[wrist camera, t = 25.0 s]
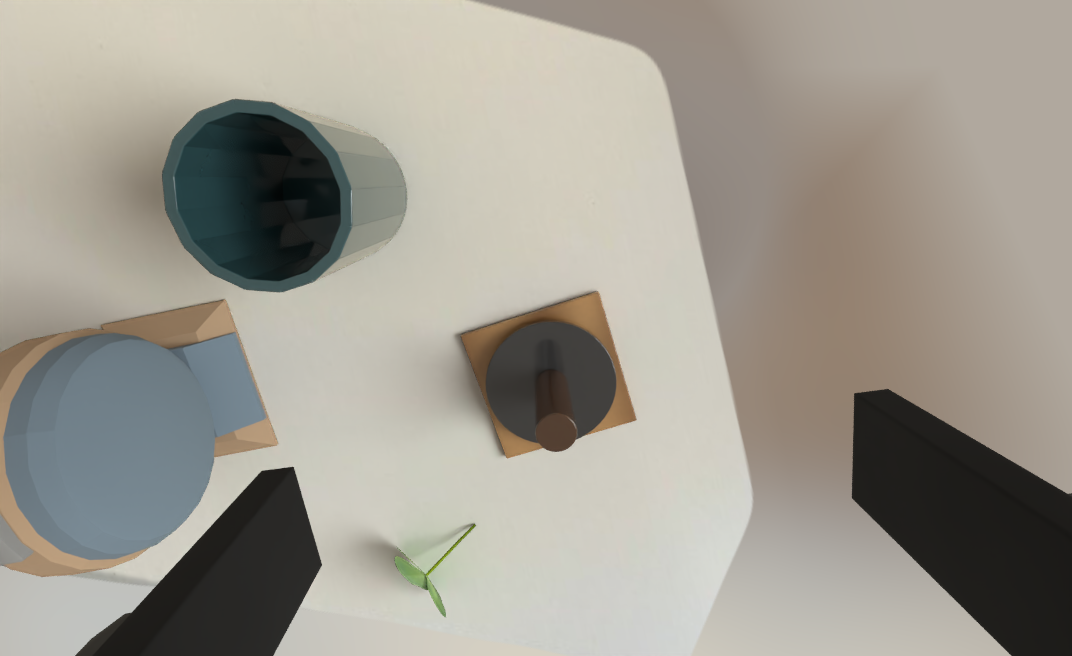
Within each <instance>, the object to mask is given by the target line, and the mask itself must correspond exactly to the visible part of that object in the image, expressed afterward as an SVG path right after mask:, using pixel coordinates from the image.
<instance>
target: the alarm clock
mask: <svg viewBox="0 0 1072 656" xmlns="http://www.w3.org/2000/svg"><path fill="white" fill-rule="evenodd" d="M101 327H102V329H103V330H98V329H91V328H89V329H83V330H77V331H71V332H65V333H60V334H55V335H50V336H45V337H40V338H35V339H30V340H25V341H23V342H21V343H19V344H17V345H15V346H13V347H11V348H9V349H7V350H5V351H3V352H1V353H0V566H5V567H7V568H9V569H11V570H16V571H20V572H24V573H28V574H32V575H36V576H41V577H46V576H47V577H48V576H62V575H74V574H80V573H85V572H91V571H96V570H101V569H107V568H111V567H114V566H116V565H119V564H121V563H124V562H127V561H129V560H132V559H134V558H136V557H138V556H139V555H140V554H142V553H143V552H144V551H146V550H147V549H148V548H150V547H151V546H154V545H157V544H158V543H159V542H161V541H162V540H163V539H165V538H166V537H167V536H168V535H170V534H171V533H172V532H174V531H175V530H176V529H177V528H178V527H179V526H180V525H181V524H182V523H183V522H184V521H185V520H186V519H187V518H188V517H189V515H190V514H191V513H192V512H193V510H194V509H195V508H196V506H197V505H198V504H199V502H200V500H201V498H202V496H203V494H204V492H205V490H206V487H207V485H208V483H209V479H210V475H211V471H212V467H213V463H214V457H218V456H223V455H229V454H234V453H239V452H244V451H250V450H255V449H260V448H265V447H271V446H276V445H278V442H277V439H276V437H275V434H274V431H273V429H272V426H271V423H270V420H269V418H268V415H267V412H266V409H265V407H264V404H263V401H262V398H261V396H260V393H259V390H258V387H257V385H256V382H255V379H254V376H253V374H252V371H251V368H250V365H249V363H248V360H247V357H246V354H245V352H244V349H243V346H242V343H241V341H240V338H239V335H238V332H237V330H236V327H235V324H234V321H233V319H232V316H231V313H230V310H229V308H228V305H227V302H226V300H222V301H217V302H212V303H207V304H202V305H197V306H192V307H188V308H183V309H178V310H173V311H168V312H163V313H158V314H153V315H148V316H143V317H138V318H133V319H129V320H124V321H119V322H114V323H109V324H104V325H101Z"/></svg>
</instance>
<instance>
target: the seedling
mask: <svg viewBox="0 0 1072 656" xmlns="http://www.w3.org/2000/svg"><path fill="white" fill-rule="evenodd" d="M475 526H476V525H475V524H474V525H473V526H472V527H471V528H470V529H469V530H468V531H467V532H466V533H465V534H464V535H463V536H462V537H461V538H460V539H459V540H458V541H457V542H456V543H455V544H454V545H453V546H452V547H451V548H450V549H449V550H448V551H447V553H446V554H445V555H444V556H443V557H442V558H441V559H440V560H439V561H438V562H437V563H436V564H435V565H434V566H433V567H432V568H431V569H430V570H429V571H428V573H427V574H426V575H425V574H424V573H423V572H421V571H420V570H418V569H417V568H416V567H414V566H413V565H412V564H410V563H409V562H408V561H406V560H404V559H403V558H401V557H399V556H396V557H395V560H394V561H395V564H396V566H397V568H398V570H399V571H400V573H401V574H402V575H403V576H404V577H405V578H406V579H407V580H408V581H409V582H410V583H411V584H413V585H417V586H419V587H421V588H422V589H425V590H429V592H430V595H431V597H432V599H433V601H434V603H435V605H436V606H437V608H438V609H439V611H440V612H441V614H442V615H443V616H444V617H446V612H445V609H444V606H443V604H442V600H441V598H440V595H439V594H438V592H437V590H436V589H435V587H434V586H433V584H432V583H431V581H430V580H429V578H428V577H427V576H428V575H429V574H430V573H431V572H432V571H433V570H434V569H435V568H436V567H437V566H438V565H439V564H440V563H441V562H442V560H443V559H444V558H445V557H446V556H447V555H448V554H449V553H450V552H451V551H452V550H453V549H454V548H455V547H456V546H457V545H458V544H459V543H460V541H461V540H462V539H463V538H464V537H465V536H466V535H467V534H468V533H469V532H470V531H471V530H472V529H473V528H474V527H475ZM399 550H400V549H399ZM400 551H401V550H400ZM401 552H402V551H401ZM402 553H403V552H402ZM403 554H404V553H403ZM404 555H405V554H404ZM405 556H406V555H405ZM406 557H407V556H406ZM407 558H408V557H407ZM408 559H409V558H408ZM409 560H410V559H409ZM410 561H411V560H410ZM411 562H412V561H411ZM412 563H413V562H412ZM413 564H414V563H413Z"/></svg>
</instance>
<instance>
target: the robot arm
mask: <svg viewBox="0 0 1072 656" xmlns="http://www.w3.org/2000/svg"><path fill="white" fill-rule="evenodd" d="M852 476H853V477H852V499H853V500H855V502H856V503H857V504H859V506H860V507H861V508H862V509H864V511H866V512H867V513H868V514H869V515H870V516H871V517H872V518H873V519H874V520H875V521H876V522H877V523H878V524H879V525H880V526H881V527H882V528H883V529H884V530H885V531H886V532H887V533H888V534H889V535H890V536H891V537H892V538H893V539H894V540H895V541H896V542H897V543H898V544H899V545H900V546H901V547H902V548H903V549H904V550H905V551H906V552H907V553H908V554H909V555H910V556H911V557H912V558H913V559H914V560H915V561H916V562H917V563H918V564H919V565H920V566H921V567H922V568H923V569H924V570H925V571H926V572H927V573H928V574H929V575H931V577H932V578H933V579H934V580H935V581H936V582H937V583H939V585H940V586H941V587H942V588H943V589H945V590H946V591H947V592H948V593H949V594H950V595H951V596H952V597H953V598H954V599H955V600H956V601H957V602H958V603H959V604H960V605H961V606H962V607H963V608H964V609H965V610H966V611H967V612H968V613H969V614H970V615H971V616H972V617H973V618H974V619H975V620H976V621H977V622H978V623H979V624H980V625H981V626H982V627H983V628H984V629H985V630H986V631H987V632H988V633H989V634H990V635H991V636H992V637H993V638H994V639H995V640H996V641H997V642H998V643H999V644H1000V645H1001V646H1002V647H1003V648H1004V649H1005V650H1006V651H1007V652H1008V653H1009V654H1010V655H1011V656H1072V493H1071V494H1067V493H1065V492H1063V491H1062V490H1060V489H1058V488H1057V487H1055V486H1053V485H1051V484H1049V483H1048V482H1046V481H1044V480H1043V479H1041V478H1039V477H1038V476H1036V475H1034V474H1033V473H1031V472H1029V471H1027V470H1026V469H1024V468H1022V467H1021V466H1019V465H1017V464H1015V463H1014V462H1012V461H1010V460H1008V459H1007V458H1005V457H1003V456H1002V455H1000V454H998V453H997V452H995V451H993V450H991V449H990V448H988V447H986V446H985V445H983V444H981V443H979V442H978V441H976V440H974V439H973V438H971V437H969V436H967V435H966V434H964V433H962V432H960V431H959V430H957V429H956V428H954V427H952V426H950V425H949V424H947V423H945V422H944V421H942V420H940V419H938V418H937V417H935V416H933V415H932V414H930V413H928V412H926V411H925V410H923V409H921V408H920V407H918V406H916V405H914V404H913V403H911V402H909V401H907V400H906V399H904V398H902V397H901V396H899V395H897V394H896V393H894V392H892V391H891V390H889V389H885V390H877V391H869V392H862V393H855V394H854V434H853V475H852ZM321 566H322V563H321V560H320V556H319V553H318V550H317V546H316V543H315V539H314V536H313V532H312V529H311V525H310V522H309V518H308V515H307V512H306V508H305V505H304V501H303V498H302V494H301V491H300V487H299V484H298V481H297V477H296V474H295V470H294V467H288V468H281V469H273V470H265V471H261V472H260V473H259V474H258V476H257V477H256V478H255V479H254V480H253V481H252V482H251V483H250V484H249V485H248V486H247V488H246V489H245V490H244V491H243V492H242V493H241V494H240V495H239V496H238V497H237V498H236V500H235V501H234V502H233V503H232V504H231V505H230V506H229V507H228V508H227V509H226V510H225V512H224V513H223V514H222V515H221V516H220V517H219V518H218V519H217V520H216V521H215V522H214V524H213V525H212V526H211V527H210V528H209V529H208V530H207V531H206V532H205V533H204V534H203V536H202V537H201V538H200V539H199V540H198V541H197V542H196V543H195V544H194V545H193V546H192V548H191V549H190V550H189V551H188V552H187V553H186V554H185V555H184V556H183V557H182V558H181V560H180V561H179V562H178V563H177V564H176V565H175V566H174V567H173V568H172V569H171V570H170V572H169V573H168V574H167V575H166V576H165V577H164V578H163V579H162V580H161V581H160V582H159V584H158V585H157V586H156V587H155V588H154V589H153V590H152V591H151V592H150V593H149V594H148V596H147V597H146V598H145V599H144V600H143V601H142V602H141V603H140V604H139V605H138V606H137V608H136V609H135V610H134V611H133V612H132V613H127V614H124V615H123V616H122V617H120V618H119V619H117V620H116V621H115V622H113V623H112V624H111V625H109V626H108V627H107V628H105V629H104V630H103V631H101V632H100V633H99V634H97V635H96V636H95V637H93V638H92V639H91V640H90V641H89V642H88V643H87V644H86V645H85V646H84V647H83V648H82V649H81V650H80V651H79V652H78V653H77V654H76V655H75V656H273V655H274V653H275V651H276V649H277V647H278V646H279V644H280V642H281V640H282V638H283V636H284V634H285V633H286V631H287V629H288V627H289V625H290V623H291V621H292V620H293V618H294V616H295V614H296V612H297V610H298V609H299V607H300V605H301V603H302V601H303V599H304V597H305V595H306V594H307V592H308V590H309V588H310V586H311V584H312V582H313V581H314V579H315V577H316V575H317V573H318V571H319V569H320V568H321Z"/></svg>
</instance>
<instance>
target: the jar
mask: <svg viewBox="0 0 1072 656" xmlns="http://www.w3.org/2000/svg"><path fill="white" fill-rule="evenodd" d="M162 173H163V174H162V181H163V191H164V201H165V210H166V211H167V212H166V213H167V215H168V217H169V219H170V221H171V223H172V225H173V227H174V229H175V231H176V233H177V235H178V237H179V239H180V241H181V243H182V245H183V246H184V248H185V249H186V250H187V251H188V252H189V253H190V254H191V255H192V256H193V257H194V258H195V259H196V260H197V261H198V262H199V263H200V264H201V265H202V266H203V267H205V268H206V269H207V270H208V271H209V272H210V273H212V274H213V275H215V276H217V277H219V278H221V279H224V280H226V281H228V282H230V283H232V284H234V285H236V286H239V287H241V288H243V289H246V290H254V291H267V292H285V291H288V290H291V289H294V288H297V287H300V286H303V285H306V284H309V283H312V282H315V281H317V280H319V279H321V278H323V277H325V276H327V275H329V274H331V273H334V272H336V271H338V270H340V269H342V268H344V267H346V266H348V265H350V264H352V263H355V262H357V261H359V260H361V259H363V258H365V257H367V256H369V255H371V254H373V253H376V252H377V251H379V250H380V249H381V248H382V247H383V246H385V245H386V244H387V243H388V242H389V241H390V240H391V239H392V238H393V237H394V236H395V235H396V233H397V231H398V230H399V228H400V226H401V224H402V221H403V219H404V216H405V211H406V205H407V190H406V184H405V180H404V177H403V173H402V171H401V169H400V167H399V165H398V163H397V161H396V160H395V158H394V157H393V155H392V154H391V153H390V151H389V150H388V149H387V148H386V147H385V146H384V145H383V144H382V143H381V142H379V140H377V139H376V138H374V137H372V136H371V135H369V134H367V133H365V132H363V131H361V130H359V129H357V128H355V127H353V126H350V125H346V124H343V123H340V122H336V121H333V120H330V119H326V118H323V117H320V116H316V115H313V114H310V113H306V112H303V111H300V110H296V109H293V108H290V107H286V106H283V105H280V104H276V103H273V102H264V101H253V100H242V99H232V100H229V101H226V102H224V103H221V104H218V105H215V106H212V107H210V108H207V109H204V110H201V111H199V112H197V113H196V115H195V116H194V117H193V118H192V119H191V120H190V121H189V122H188V123H187V124H186V125H185V126H184V127H183V128H182V129H181V130H180V131H179V132H178V133H177V134H176V136H175V137H174V139H173V140H172V143H171V146H170V149H169V153H168V156H167V159H166V162H165V165H164V168H163V171H162Z"/></svg>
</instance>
